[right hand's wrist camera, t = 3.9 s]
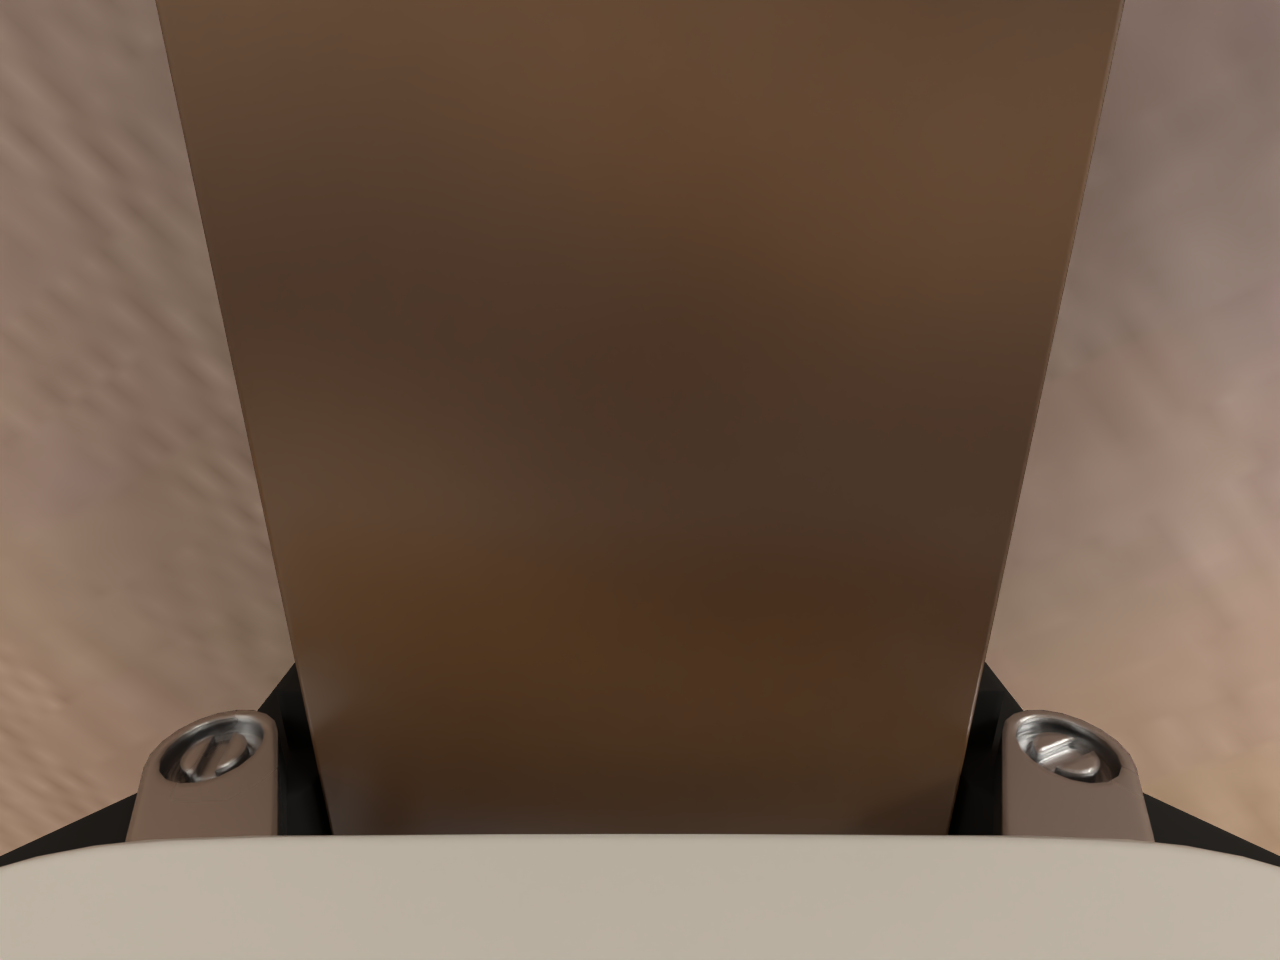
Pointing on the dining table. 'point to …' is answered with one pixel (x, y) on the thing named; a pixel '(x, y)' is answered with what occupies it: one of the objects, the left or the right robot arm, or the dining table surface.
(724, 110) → the beam
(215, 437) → the dining table surface
